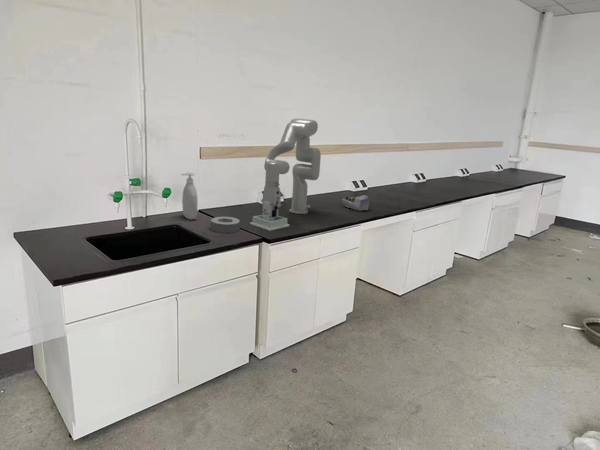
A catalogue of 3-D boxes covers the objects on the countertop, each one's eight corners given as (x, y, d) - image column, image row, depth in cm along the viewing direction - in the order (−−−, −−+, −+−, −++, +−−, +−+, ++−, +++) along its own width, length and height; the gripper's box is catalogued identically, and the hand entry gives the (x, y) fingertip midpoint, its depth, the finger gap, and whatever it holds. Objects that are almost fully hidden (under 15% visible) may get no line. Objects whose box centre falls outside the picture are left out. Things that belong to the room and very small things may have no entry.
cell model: (361, 197, 278) (339, 192, 292) (359, 212, 281) (338, 207, 295) (373, 195, 286) (352, 191, 301) (372, 210, 289) (351, 205, 303)
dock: (269, 220, 244) (270, 212, 243) (289, 226, 235) (290, 218, 233) (249, 224, 233) (250, 216, 231) (269, 230, 223) (270, 222, 222)
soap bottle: (176, 216, 239) (176, 169, 232) (189, 214, 244) (189, 169, 237) (187, 221, 228) (187, 173, 221) (201, 220, 234) (201, 173, 226)
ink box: (271, 219, 238) (272, 199, 235) (278, 221, 235) (279, 200, 232) (261, 221, 231) (262, 201, 228) (268, 223, 228) (269, 202, 225)
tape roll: (245, 230, 221) (245, 221, 219) (221, 235, 210) (221, 225, 209) (228, 223, 231) (229, 215, 230) (205, 227, 221) (205, 218, 219)
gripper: (287, 186, 225) (285, 217, 230) (265, 181, 235) (264, 211, 240) (278, 187, 219) (276, 220, 224) (256, 182, 230) (255, 213, 235)
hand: (270, 215), depth 232 cm, fingers closed on ink box, 5 cm apart
